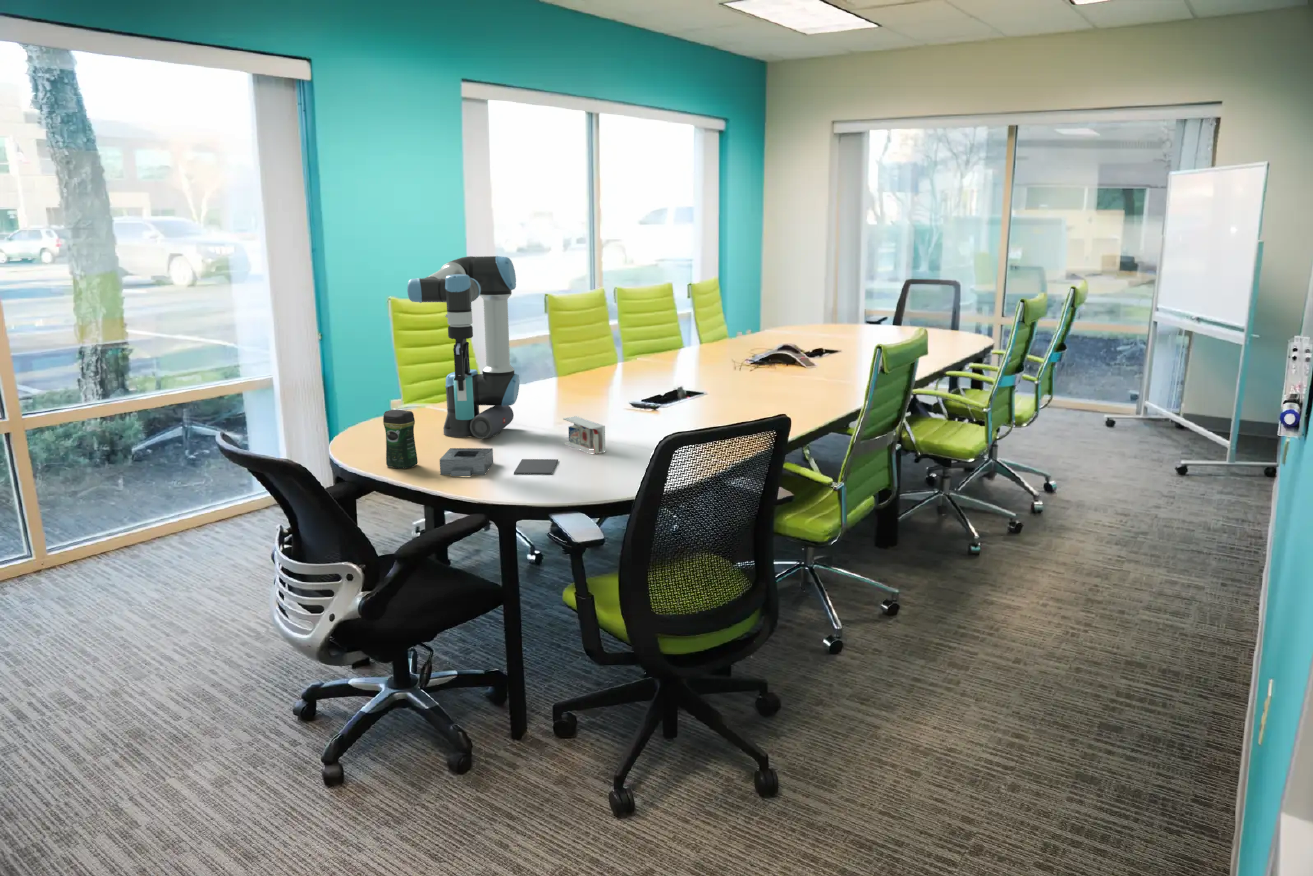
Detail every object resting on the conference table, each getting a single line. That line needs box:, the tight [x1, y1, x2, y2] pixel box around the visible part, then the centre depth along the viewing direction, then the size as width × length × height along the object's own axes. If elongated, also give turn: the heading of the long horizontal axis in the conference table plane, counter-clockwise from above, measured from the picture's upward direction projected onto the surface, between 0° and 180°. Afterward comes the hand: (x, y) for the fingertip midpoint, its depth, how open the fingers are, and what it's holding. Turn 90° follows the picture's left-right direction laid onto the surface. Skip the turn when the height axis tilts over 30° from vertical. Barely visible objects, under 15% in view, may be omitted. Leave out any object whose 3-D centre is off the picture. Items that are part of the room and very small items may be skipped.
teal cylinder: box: [453, 374, 474, 420], centre depth 292 cm, size 6×6×14 cm
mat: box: [513, 458, 559, 476], centre depth 299 cm, size 16×12×1 cm
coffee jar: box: [382, 409, 419, 469], centre depth 299 cm, size 10×8×19 cm
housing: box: [439, 447, 494, 477], centre depth 297 cm, size 19×14×5 cm
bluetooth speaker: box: [470, 405, 514, 439], centre depth 341 cm, size 23×9×10 cm, turn 168°
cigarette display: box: [562, 415, 606, 454], centre depth 322 cm, size 20×6×9 cm, turn 37°
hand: (464, 398), depth 292 cm, fingers closed on teal cylinder, 6 cm apart
